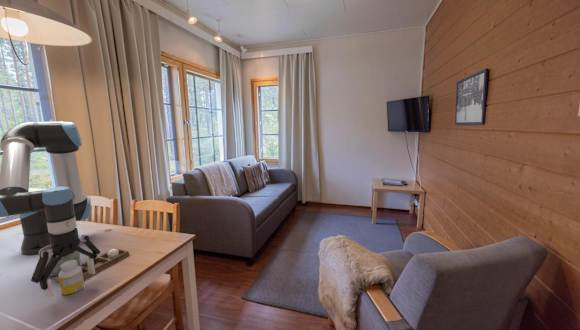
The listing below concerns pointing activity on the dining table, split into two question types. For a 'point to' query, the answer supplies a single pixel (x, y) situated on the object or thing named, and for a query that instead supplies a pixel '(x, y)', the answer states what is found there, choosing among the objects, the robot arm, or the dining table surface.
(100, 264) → the caddy
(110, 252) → the white egg ball
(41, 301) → the dining table surface
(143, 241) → the dining table surface
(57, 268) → the planter
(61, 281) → the pill bottle
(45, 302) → the dining table surface
